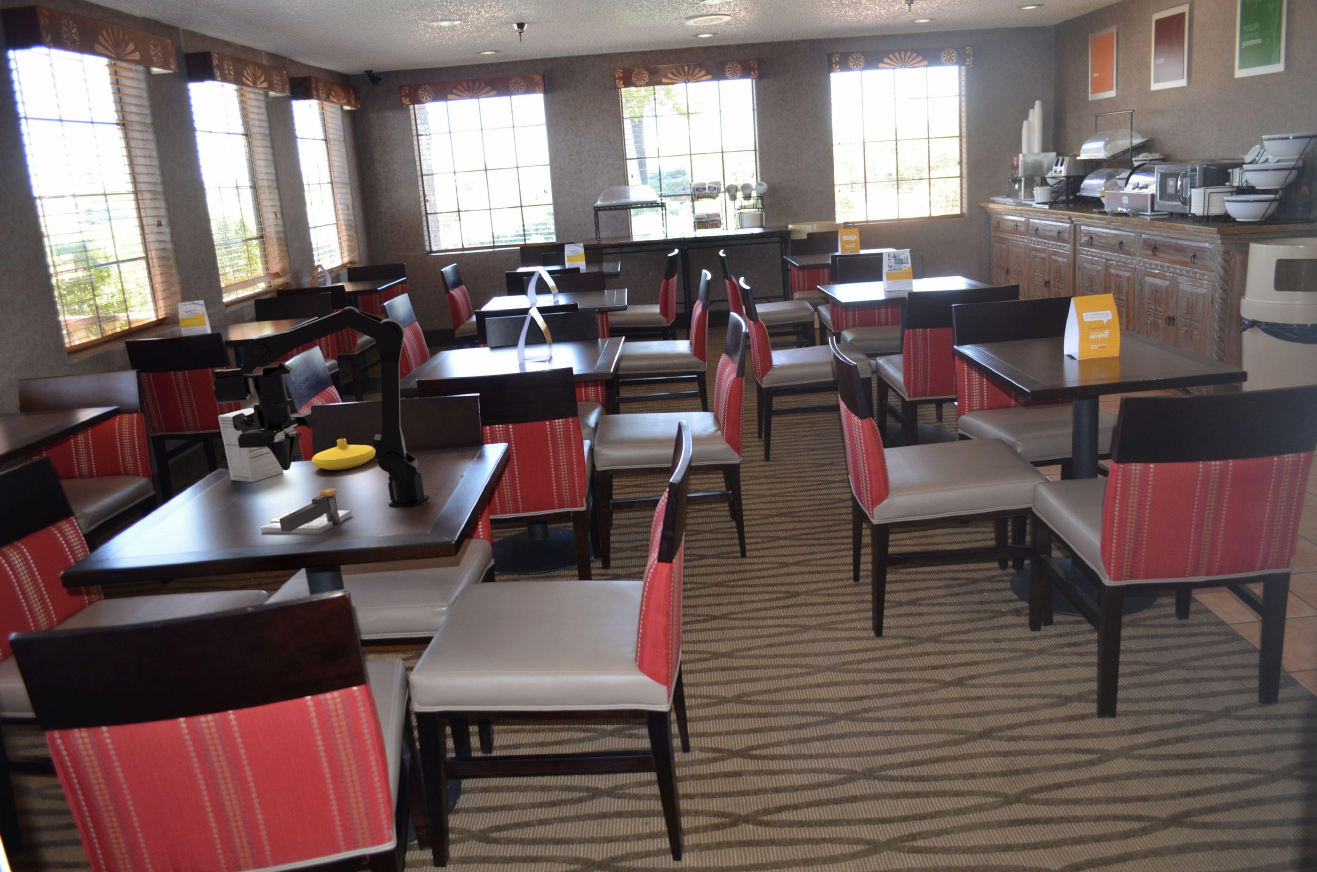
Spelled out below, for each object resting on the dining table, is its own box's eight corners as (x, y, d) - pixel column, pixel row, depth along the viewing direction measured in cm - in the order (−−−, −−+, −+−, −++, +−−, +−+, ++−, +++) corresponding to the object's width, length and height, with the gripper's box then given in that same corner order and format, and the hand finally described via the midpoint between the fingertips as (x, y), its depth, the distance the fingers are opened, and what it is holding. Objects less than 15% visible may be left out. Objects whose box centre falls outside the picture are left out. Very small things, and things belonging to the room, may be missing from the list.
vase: (366, 472, 237) (361, 444, 235) (303, 477, 237) (298, 449, 236) (385, 456, 252) (381, 430, 250) (326, 460, 253) (322, 435, 251)
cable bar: (329, 505, 197) (326, 488, 196) (342, 506, 196) (339, 488, 195) (278, 531, 183) (275, 512, 182) (292, 531, 182) (289, 512, 181)
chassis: (354, 515, 200) (349, 487, 199) (322, 533, 190) (317, 504, 189) (295, 515, 205) (290, 487, 203) (261, 532, 195) (255, 504, 193)
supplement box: (284, 472, 243) (272, 408, 239) (253, 483, 236) (239, 416, 232) (261, 470, 249) (249, 407, 245) (229, 480, 241) (216, 415, 237)
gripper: (268, 389, 207) (281, 458, 211) (208, 408, 190) (223, 483, 194) (312, 387, 204) (325, 457, 208) (255, 406, 187) (270, 482, 191)
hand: (286, 469), depth 200 cm, fingers closed
